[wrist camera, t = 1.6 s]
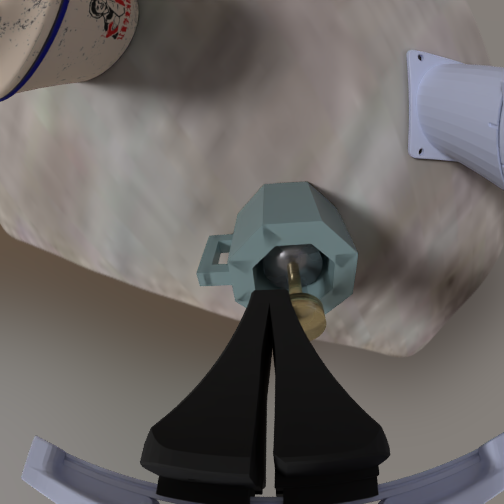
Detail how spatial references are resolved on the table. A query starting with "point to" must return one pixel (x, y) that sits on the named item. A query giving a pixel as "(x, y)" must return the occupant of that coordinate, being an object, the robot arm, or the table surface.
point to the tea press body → (279, 234)
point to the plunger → (298, 282)
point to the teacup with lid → (61, 41)
